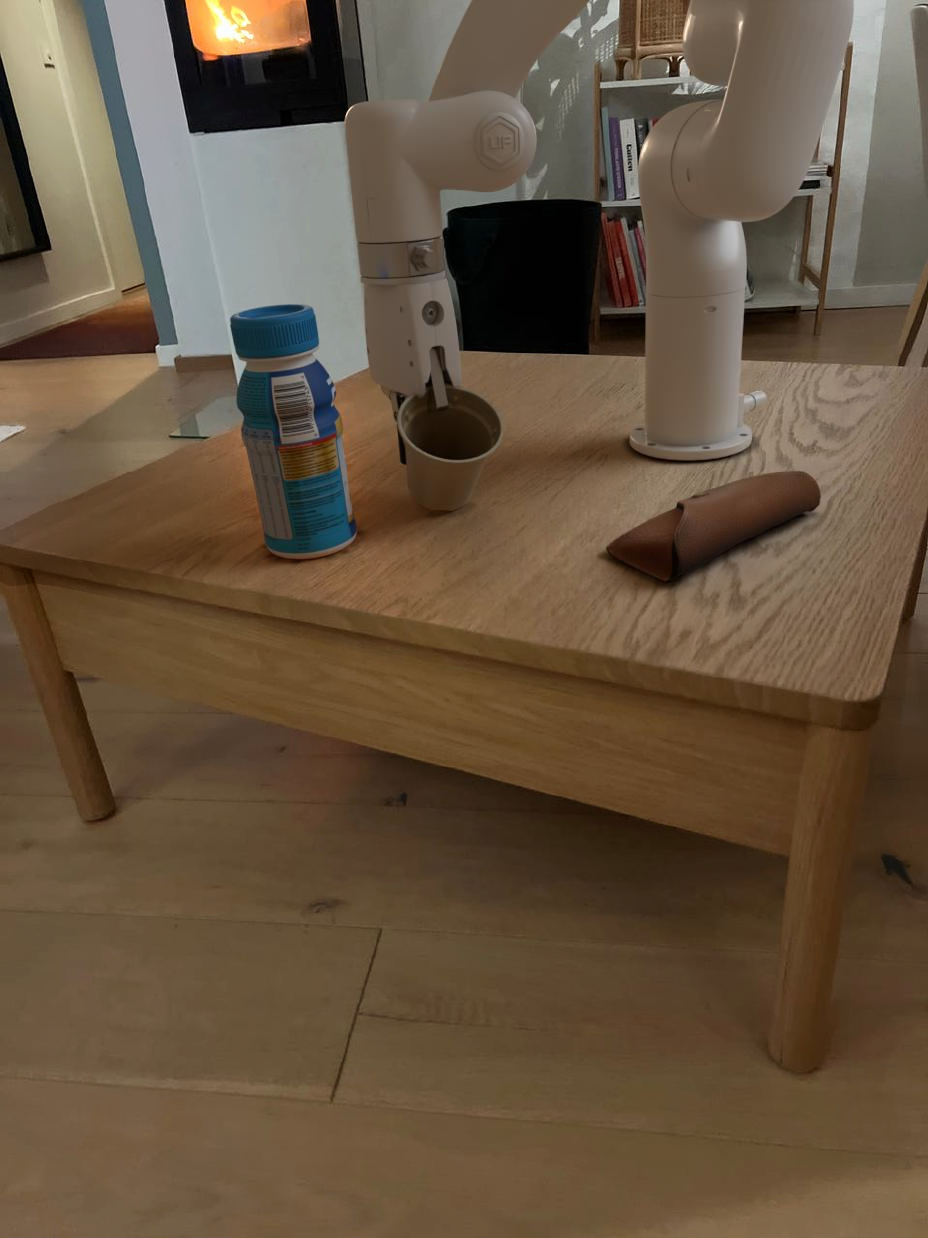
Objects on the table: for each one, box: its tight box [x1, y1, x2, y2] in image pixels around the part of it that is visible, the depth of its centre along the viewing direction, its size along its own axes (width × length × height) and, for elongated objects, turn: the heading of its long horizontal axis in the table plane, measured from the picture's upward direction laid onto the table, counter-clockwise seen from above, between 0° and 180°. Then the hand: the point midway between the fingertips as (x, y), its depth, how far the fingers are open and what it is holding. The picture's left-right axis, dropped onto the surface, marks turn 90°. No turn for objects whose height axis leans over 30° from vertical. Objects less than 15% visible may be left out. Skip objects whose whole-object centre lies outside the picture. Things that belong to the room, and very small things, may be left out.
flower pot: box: [396, 385, 505, 512], centre depth 82 cm, size 9×9×9 cm
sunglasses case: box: [605, 470, 822, 583], centre depth 74 cm, size 18×7×7 cm
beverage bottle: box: [229, 303, 358, 560], centre depth 76 cm, size 8×8×20 cm
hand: (418, 462), depth 88 cm, fingers closed
